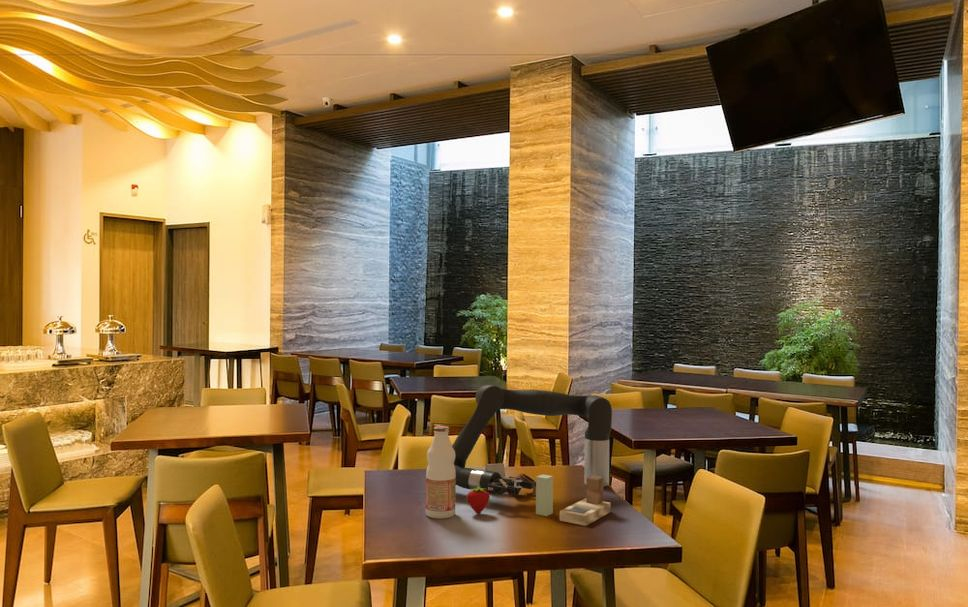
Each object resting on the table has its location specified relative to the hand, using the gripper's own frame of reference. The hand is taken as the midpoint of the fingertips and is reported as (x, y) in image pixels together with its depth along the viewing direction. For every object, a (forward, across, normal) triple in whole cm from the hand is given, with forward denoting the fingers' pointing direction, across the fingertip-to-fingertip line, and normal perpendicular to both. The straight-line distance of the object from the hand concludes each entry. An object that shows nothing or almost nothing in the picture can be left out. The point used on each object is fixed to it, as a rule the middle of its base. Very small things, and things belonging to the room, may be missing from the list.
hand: (525, 488), depth 225 cm
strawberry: (-10, -13, +7) cm, 18 cm away
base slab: (+19, +6, +7) cm, 21 cm away
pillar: (+7, 0, +7) cm, 10 cm away
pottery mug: (-11, +15, +7) cm, 20 cm away
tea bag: (-21, +13, +7) cm, 25 cm away
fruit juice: (-19, -21, +7) cm, 29 cm away
